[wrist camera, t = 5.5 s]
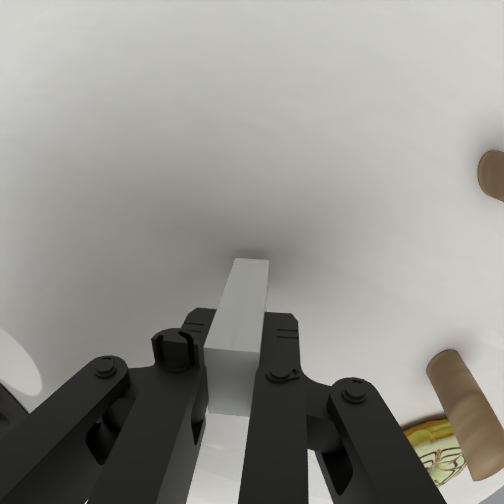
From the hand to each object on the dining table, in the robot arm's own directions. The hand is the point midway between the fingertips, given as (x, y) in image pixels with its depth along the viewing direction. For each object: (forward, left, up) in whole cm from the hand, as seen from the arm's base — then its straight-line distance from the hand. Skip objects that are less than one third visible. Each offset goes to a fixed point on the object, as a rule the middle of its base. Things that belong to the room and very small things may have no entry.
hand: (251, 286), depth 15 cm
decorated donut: (+15, -17, -2) cm, 23 cm away
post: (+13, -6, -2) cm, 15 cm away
